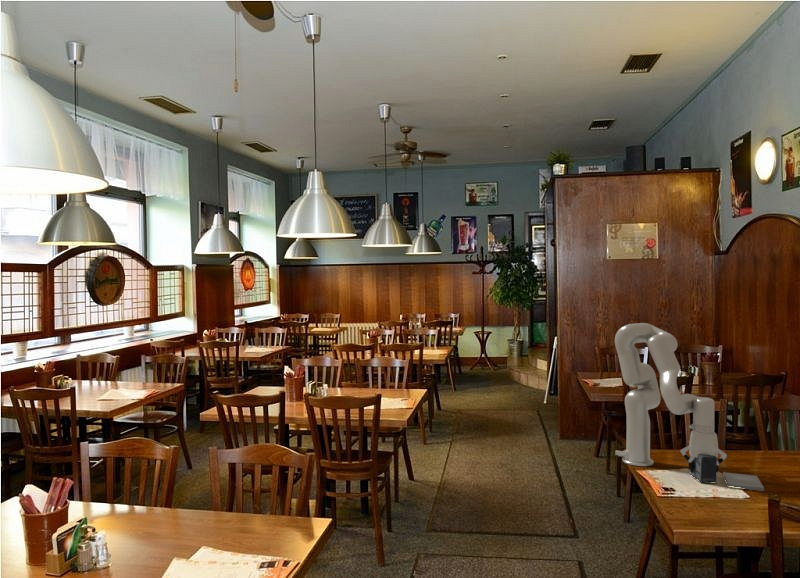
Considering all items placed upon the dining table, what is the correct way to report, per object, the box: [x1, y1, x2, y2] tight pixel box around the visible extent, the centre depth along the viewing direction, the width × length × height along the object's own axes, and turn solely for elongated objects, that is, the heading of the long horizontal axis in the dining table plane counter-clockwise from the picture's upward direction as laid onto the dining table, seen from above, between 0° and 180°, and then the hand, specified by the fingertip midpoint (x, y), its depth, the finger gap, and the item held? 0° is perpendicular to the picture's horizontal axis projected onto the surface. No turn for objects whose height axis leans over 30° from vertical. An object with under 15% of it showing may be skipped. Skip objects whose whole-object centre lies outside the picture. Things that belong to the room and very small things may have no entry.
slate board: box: [722, 471, 765, 492], centre depth 237 cm, size 12×15×2 cm
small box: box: [689, 454, 718, 483], centre depth 242 cm, size 11×6×10 cm, turn 178°
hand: (703, 472), depth 242 cm, fingers closed on small box, 7 cm apart
